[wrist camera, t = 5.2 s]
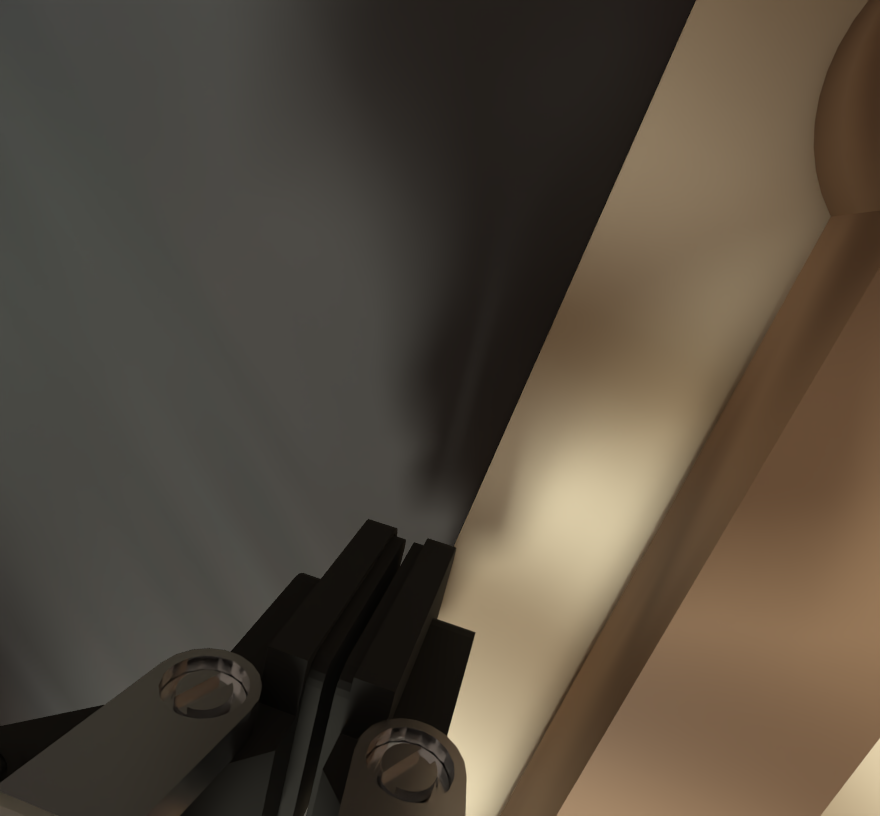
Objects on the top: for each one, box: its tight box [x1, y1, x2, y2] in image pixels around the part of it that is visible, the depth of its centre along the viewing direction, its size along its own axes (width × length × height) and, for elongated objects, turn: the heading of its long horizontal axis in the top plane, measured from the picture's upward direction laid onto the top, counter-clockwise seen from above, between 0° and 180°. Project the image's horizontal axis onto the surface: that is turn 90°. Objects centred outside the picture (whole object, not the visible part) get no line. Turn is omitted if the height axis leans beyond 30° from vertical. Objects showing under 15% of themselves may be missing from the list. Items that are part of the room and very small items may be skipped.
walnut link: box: [500, 0, 880, 816], centre depth 9 cm, size 20×5×4 cm, turn 159°
